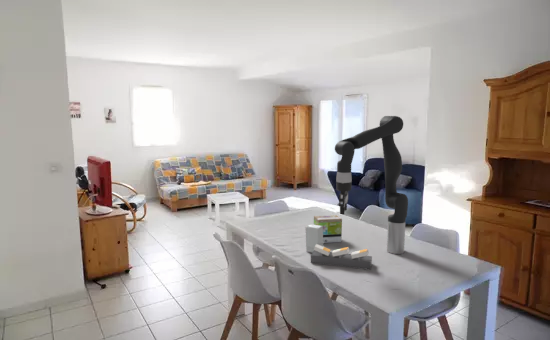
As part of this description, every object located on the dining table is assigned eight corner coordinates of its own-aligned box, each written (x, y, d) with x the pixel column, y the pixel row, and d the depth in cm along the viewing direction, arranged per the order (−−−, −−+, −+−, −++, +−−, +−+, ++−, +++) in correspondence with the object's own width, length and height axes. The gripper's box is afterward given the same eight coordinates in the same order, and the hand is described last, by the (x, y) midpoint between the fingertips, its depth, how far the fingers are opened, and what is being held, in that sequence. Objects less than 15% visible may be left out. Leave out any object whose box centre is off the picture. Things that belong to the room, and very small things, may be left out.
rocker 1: (315, 247, 198) (316, 243, 197) (329, 253, 195) (331, 249, 195) (313, 249, 194) (314, 246, 193) (328, 256, 192) (329, 252, 191)
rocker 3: (353, 255, 192) (351, 251, 192) (368, 252, 189) (367, 248, 189) (352, 258, 188) (350, 254, 188) (367, 255, 185) (366, 251, 185)
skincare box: (323, 251, 212) (323, 225, 210) (318, 254, 207) (318, 228, 205) (310, 248, 216) (310, 223, 215) (305, 251, 212) (305, 225, 210)
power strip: (314, 257, 203) (314, 247, 202) (371, 263, 193) (372, 253, 192) (310, 262, 195) (310, 252, 194) (370, 269, 185) (370, 259, 185)
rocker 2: (334, 253, 195) (333, 249, 195) (349, 250, 192) (348, 246, 192) (333, 256, 191) (331, 252, 191) (348, 253, 188) (347, 249, 188)
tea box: (318, 244, 225) (318, 219, 223) (313, 239, 235) (313, 215, 233) (341, 242, 228) (342, 218, 226) (335, 237, 238) (336, 214, 236)
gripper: (338, 178, 199) (338, 208, 201) (334, 182, 185) (333, 215, 188) (353, 179, 197) (352, 209, 199) (349, 183, 183) (348, 216, 185)
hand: (343, 212), depth 193 cm, fingers open, 8 cm apart
